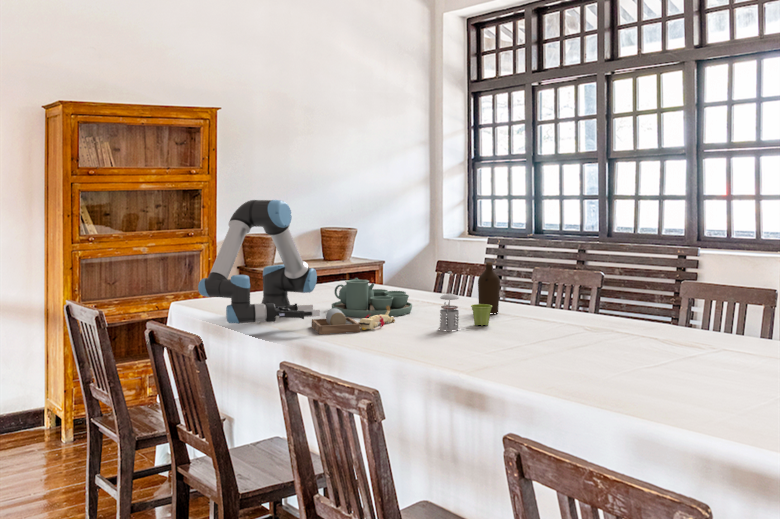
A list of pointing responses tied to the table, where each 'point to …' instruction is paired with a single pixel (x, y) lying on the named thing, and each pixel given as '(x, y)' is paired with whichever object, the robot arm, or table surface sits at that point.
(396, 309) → the tea set
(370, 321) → the cat figure
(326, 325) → the tray
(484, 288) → the olive oil
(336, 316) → the ceramic mug
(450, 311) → the french press
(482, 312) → the plant pot
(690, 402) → the table surface
